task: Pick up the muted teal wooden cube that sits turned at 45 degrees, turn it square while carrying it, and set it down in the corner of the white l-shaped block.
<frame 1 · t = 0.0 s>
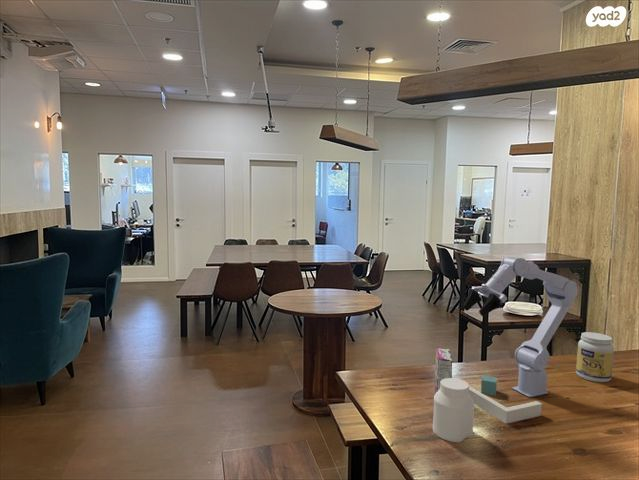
hand: (472, 311, 145), 32 cm above the table, tool tilted 50°, fingers open, 7 cm apart
candy bar box: (442, 399, 151), on the table
white l-shaped block: (501, 405, 147), on the table
jar: (452, 432, 130), on the table
cube: (488, 392, 158), on the table
supplement tub: (593, 377, 173), on the table
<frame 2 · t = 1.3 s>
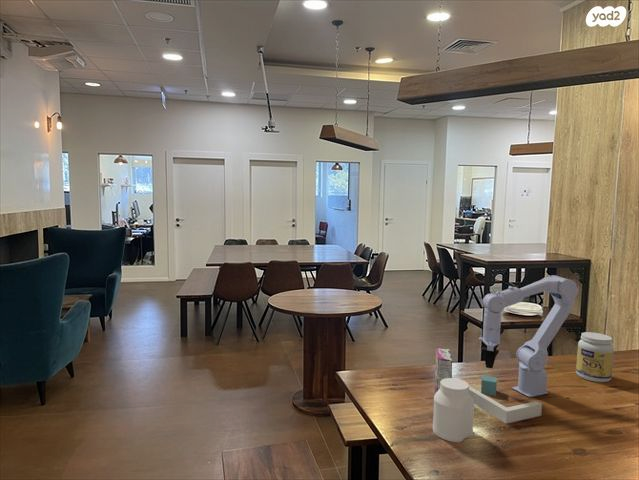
hand: (489, 364, 157), 10 cm above the table, tool pointing down, fingers open, 7 cm apart
nothing on the table moved.
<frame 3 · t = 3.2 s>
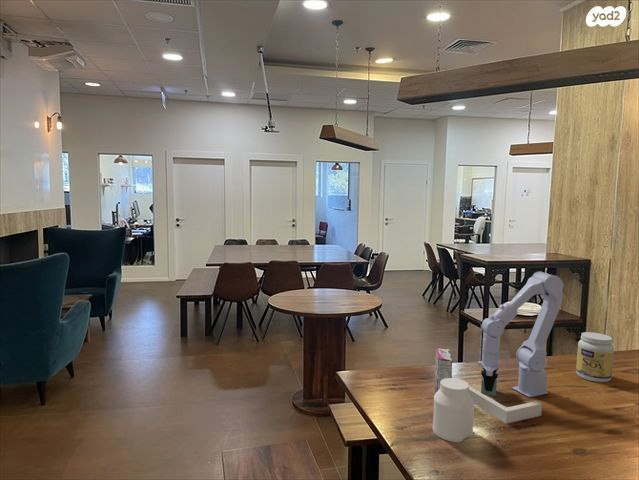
hand: (488, 387, 158), 1 cm above the table, tool pointing down, fingers closed on cube, 5 cm apart
cube: (488, 391, 158), on the table, touching gripper
everything else where it was.
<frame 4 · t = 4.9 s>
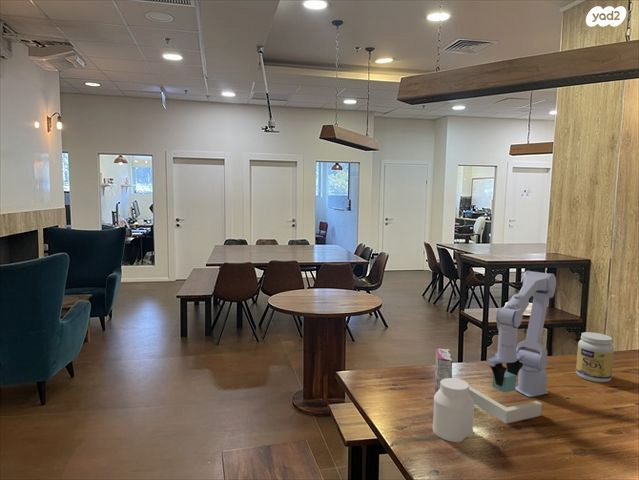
hand: (505, 383, 145), 8 cm above the table, tool pointing down, fingers closed on cube, 5 cm apart
cube: (503, 388, 145), point 7 cm above the table, touching gripper
everything else where it was.
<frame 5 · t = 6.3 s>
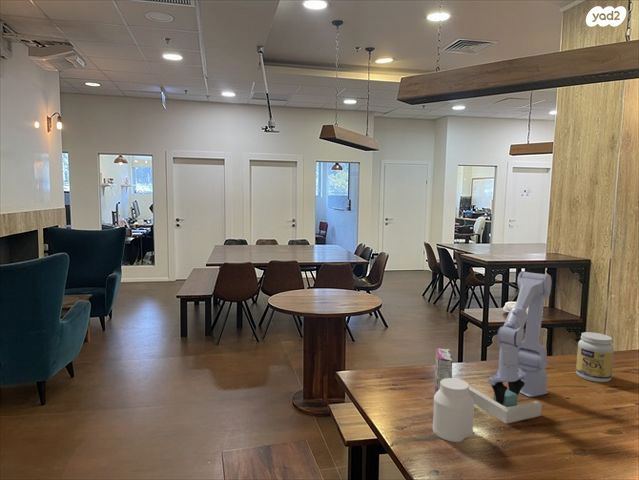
hand: (506, 402, 144), 3 cm above the table, tool pointing down, fingers closed on cube, 5 cm apart
cube: (505, 407, 144), point 1 cm above the table, touching gripper
everything else where it was.
when the fingers open (3 cm above the table, at t = 7.1 s): cube stays where it is, on the table.
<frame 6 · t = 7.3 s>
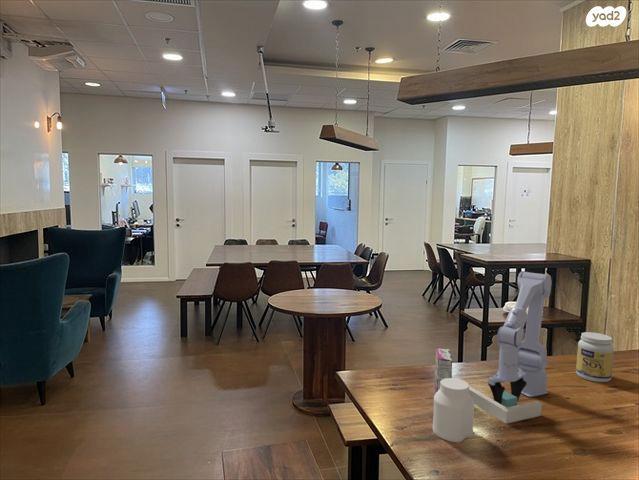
hand: (506, 402, 144), 3 cm above the table, tool pointing down, fingers open, 7 cm apart
cube: (505, 409, 144), on the table
everything else where it was.
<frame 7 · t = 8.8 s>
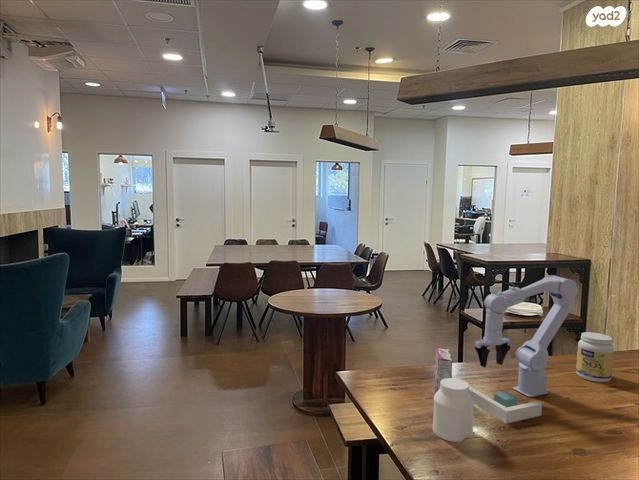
hand: (491, 365, 156), 10 cm above the table, tool pointing down, fingers open, 7 cm apart
nothing on the table moved.
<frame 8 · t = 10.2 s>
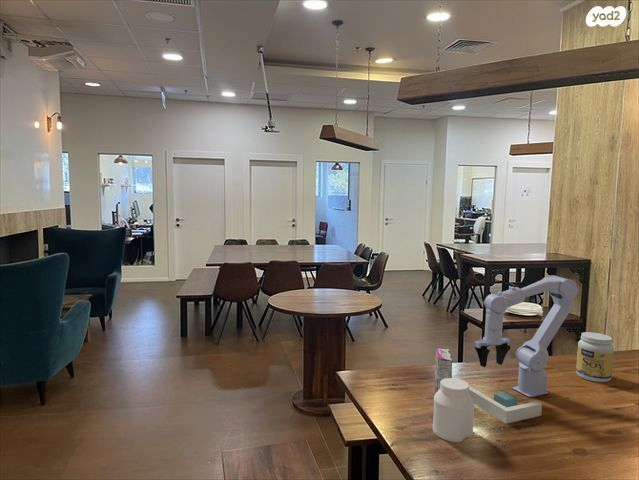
hand: (491, 365, 156), 10 cm above the table, tool pointing down, fingers open, 7 cm apart
nothing on the table moved.
at the end: cube inside the target area (0.4 cm from its centre), on the table; cube tilted 0°; the gripper is holding nothing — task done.
